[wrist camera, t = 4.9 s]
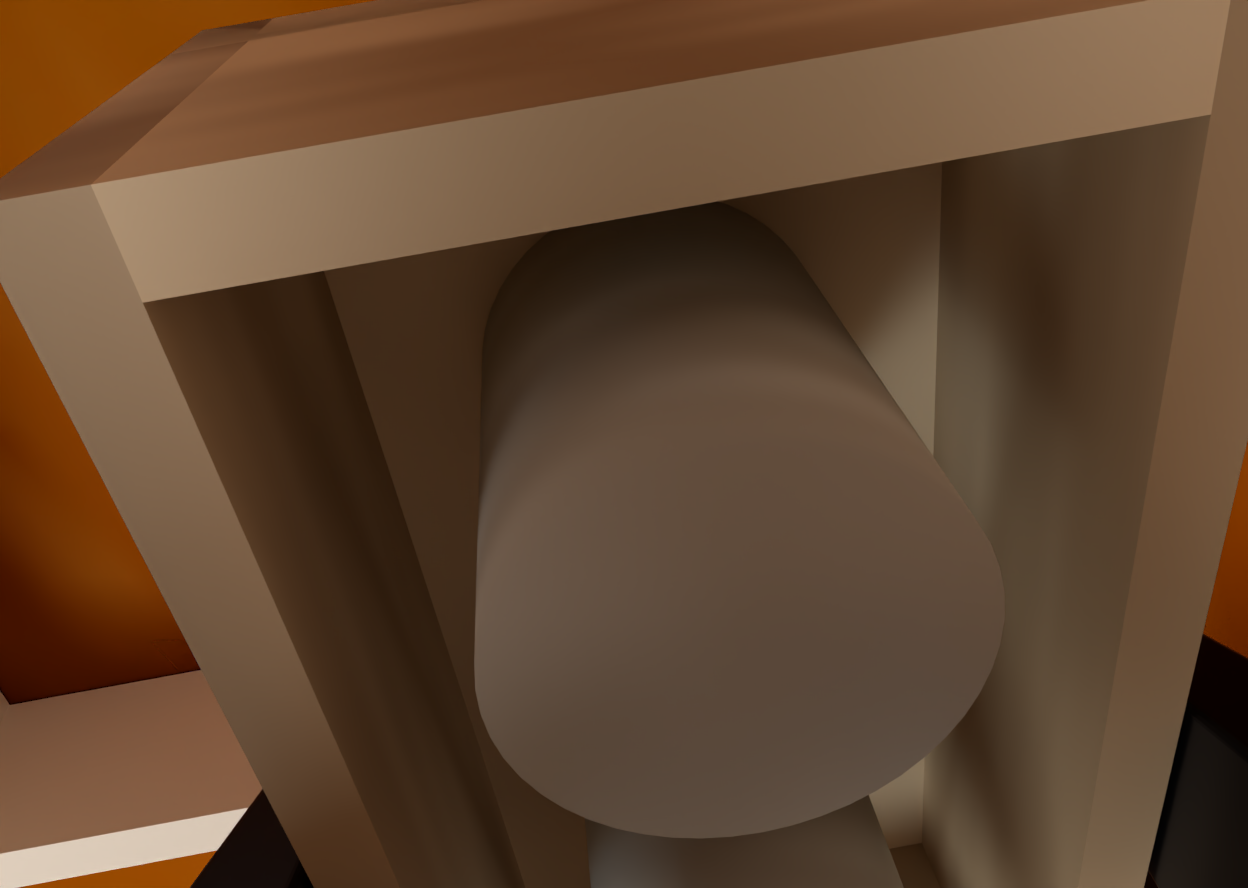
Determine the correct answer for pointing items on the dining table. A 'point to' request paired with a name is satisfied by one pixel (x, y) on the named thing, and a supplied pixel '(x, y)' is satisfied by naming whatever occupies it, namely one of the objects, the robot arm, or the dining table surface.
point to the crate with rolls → (673, 422)
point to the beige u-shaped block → (117, 779)
